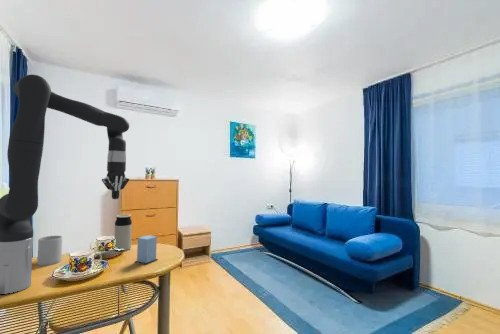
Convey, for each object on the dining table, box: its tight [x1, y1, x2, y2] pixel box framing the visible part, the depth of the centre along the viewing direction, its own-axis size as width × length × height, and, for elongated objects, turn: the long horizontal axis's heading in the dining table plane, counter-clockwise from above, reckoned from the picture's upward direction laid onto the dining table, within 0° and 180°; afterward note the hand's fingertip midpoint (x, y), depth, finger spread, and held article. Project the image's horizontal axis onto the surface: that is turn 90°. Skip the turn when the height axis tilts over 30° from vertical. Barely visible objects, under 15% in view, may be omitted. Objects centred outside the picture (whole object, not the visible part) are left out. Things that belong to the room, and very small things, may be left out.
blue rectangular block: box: [136, 234, 158, 263], centre depth 116 cm, size 6×6×11 cm
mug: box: [36, 235, 63, 267], centre depth 113 cm, size 12×8×11 cm
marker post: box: [134, 258, 159, 266], centre depth 116 cm, size 7×7×7 cm
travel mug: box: [114, 213, 133, 251], centre depth 133 cm, size 8×8×18 cm
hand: (115, 199), depth 113 cm, fingers closed
